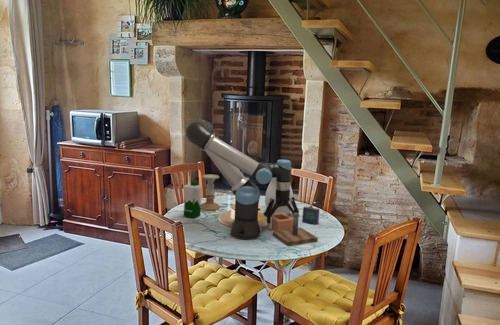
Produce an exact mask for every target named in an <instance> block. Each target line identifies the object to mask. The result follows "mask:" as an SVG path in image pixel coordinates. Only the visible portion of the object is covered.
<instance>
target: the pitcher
mask: <svg viewBox="0 0 500 325" xmlns="http://www.w3.org/2000/svg"><path fill="white" fill-rule="evenodd" d="M276 189H277V188H276V178H271V180H270V182H269V183H268V186H267V189H266V191H265V194H264V196H265V197H264V203H265V207H266V208H265V209H267V207H268V205H269V203H270V198H272V199H275V198H276ZM289 190H290V196H289V197H291V196H292V197H294V193H293V189H292V186H291V184H290V189H289ZM275 203H276V202H275ZM275 203H274V204H275ZM288 203H289V204H290V206H291V207H292V208H293V206H292V203H291V201H290V200H289V202H288ZM274 204H273V206H274ZM290 212H291V211H290V210H289V208H288V207H287V206H282V207H280V206H279V208H277V210H276V211H275V212H274V213H273V214H276V213H285V214H286V215H288V214H289V213H290Z"/></svg>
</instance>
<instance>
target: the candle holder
mask: <svg viewBox="0 0 500 325" xmlns="http://www.w3.org/2000/svg"><path fill="white" fill-rule="evenodd" d="M201 178H202V179H204V180H206V182H207V184H206V185H205V186H206V190H205V196H204V197H205V200H206V201H205V202H202V203H201V211H208V212H212V211H218V210H219V209H220V208H221V207H220V206H221V205H220V204H218V203H217V202H215V199H216V197H215V189H214V187H215V184H214V182H215V180H217V179H220V176H219V175H218V174H212V173H211V174H203V175H202V176H201Z"/></svg>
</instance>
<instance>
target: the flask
mask: <svg viewBox="0 0 500 325" xmlns="http://www.w3.org/2000/svg"><path fill="white" fill-rule="evenodd" d="M313 206H314V205H313V204H310V206H308V205H305V206H303V207H302V219H301V220H302V223H304V224H308V225H309V224H310V225H316V226H317V225H319V224H320V223H319V222H320V208H316V207H313Z"/></svg>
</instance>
